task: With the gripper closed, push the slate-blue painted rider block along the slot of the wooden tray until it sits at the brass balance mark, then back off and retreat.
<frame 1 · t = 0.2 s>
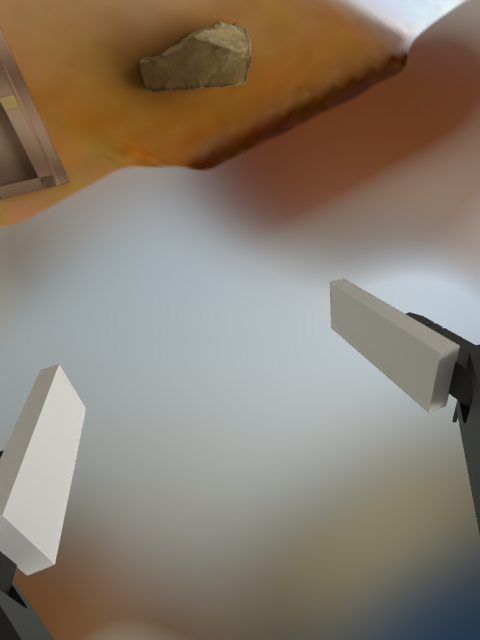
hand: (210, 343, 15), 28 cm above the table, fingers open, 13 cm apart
rock: (190, 60, 32), on the table
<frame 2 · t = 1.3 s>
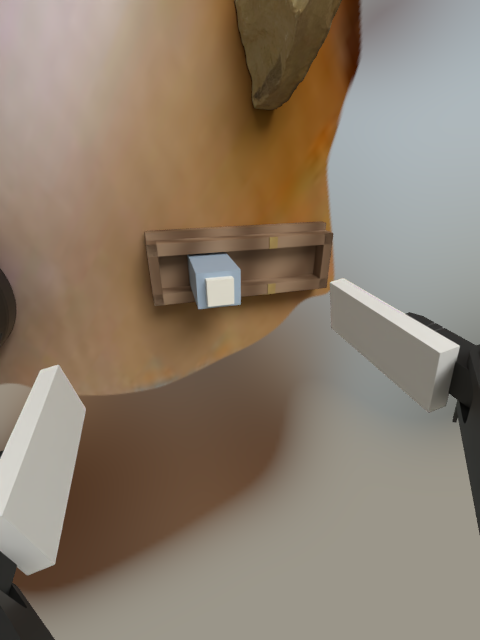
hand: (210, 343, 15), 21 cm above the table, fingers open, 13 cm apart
wooden tray: (239, 261, 36), on the table
rider: (213, 278, 30), point 5 cm above the table, slide at 0.0 cm
rock: (258, 38, 27), on the table
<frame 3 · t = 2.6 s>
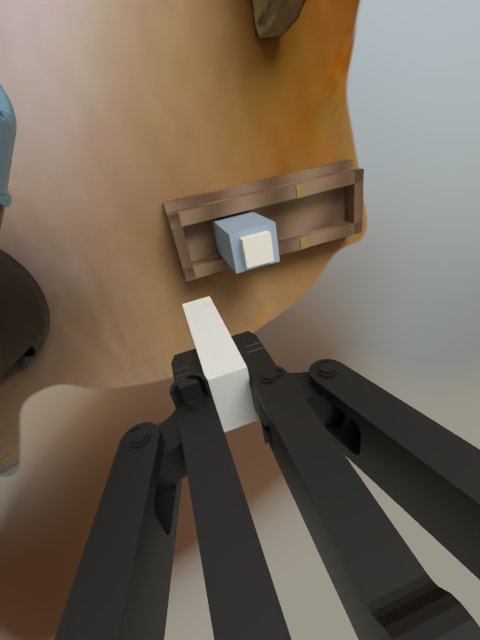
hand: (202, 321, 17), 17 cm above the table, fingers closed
wooden tray: (265, 220, 33), on the table
rider: (244, 239, 28), point 5 cm above the table, slide at 0.0 cm
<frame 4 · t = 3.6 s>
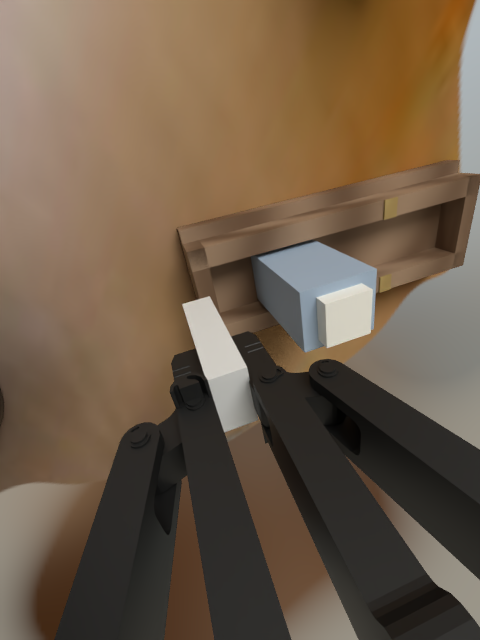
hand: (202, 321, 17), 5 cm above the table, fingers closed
wooden tray: (325, 248, 23), on the table
rider: (308, 289, 18), point 5 cm above the table, slide at 0.0 cm
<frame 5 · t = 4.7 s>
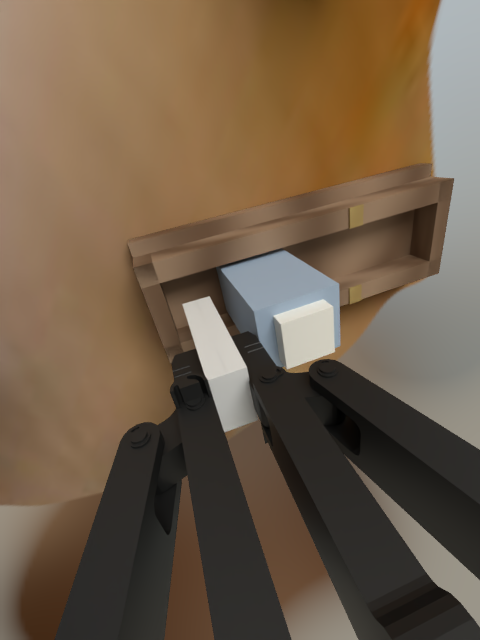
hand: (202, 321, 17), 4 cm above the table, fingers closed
wooden tray: (292, 258, 21), on the table
rider: (274, 302, 17), point 5 cm above the table, slide at 0.5 cm, touching gripper
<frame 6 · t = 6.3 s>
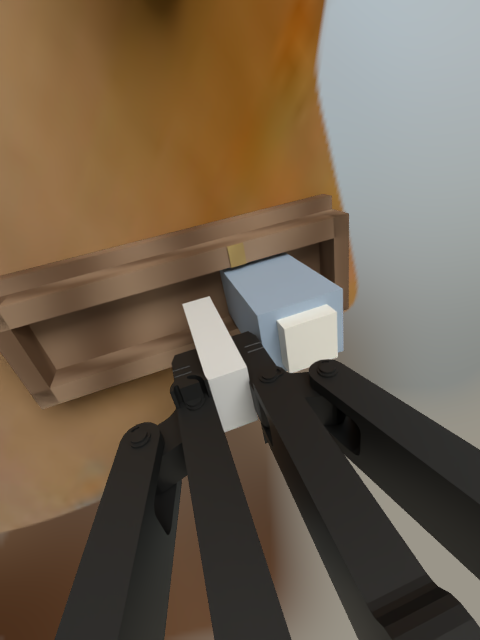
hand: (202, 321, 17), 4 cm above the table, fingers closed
wooden tray: (188, 293, 20), on the table
rider: (277, 306, 17), point 5 cm above the table, slide at 8.1 cm, touching gripper
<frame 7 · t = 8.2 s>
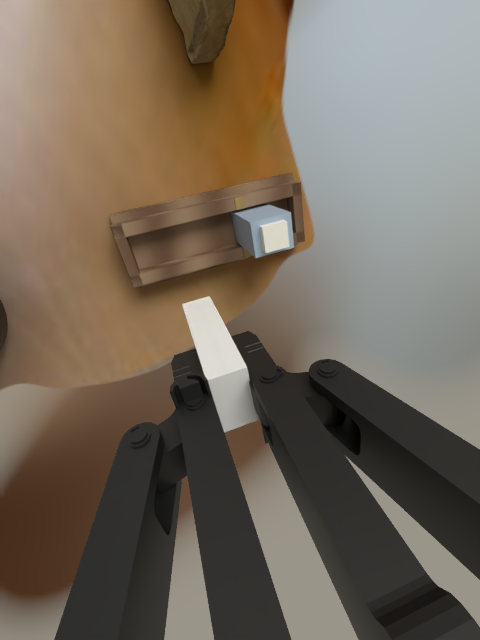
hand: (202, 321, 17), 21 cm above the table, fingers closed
wooden tray: (211, 229, 35), on the table
rider: (261, 229, 32), point 5 cm above the table, slide at 8.3 cm
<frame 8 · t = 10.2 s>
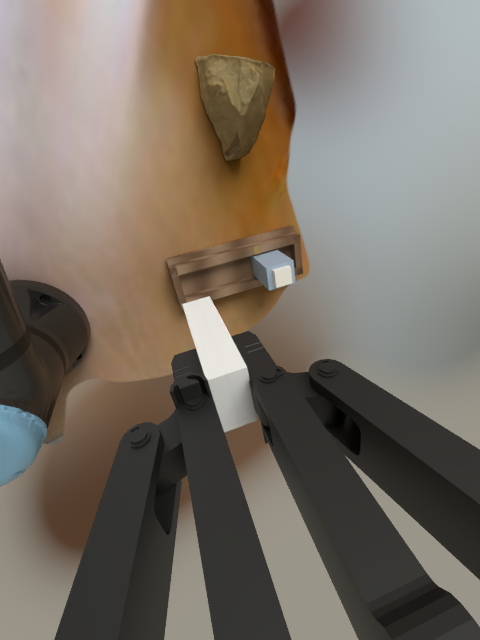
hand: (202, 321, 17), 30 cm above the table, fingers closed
wooden tray: (235, 266, 49), on the table
rider: (272, 268, 45), point 5 cm above the table, slide at 8.3 cm
rock: (221, 114, 39), on the table
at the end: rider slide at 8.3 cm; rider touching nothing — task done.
